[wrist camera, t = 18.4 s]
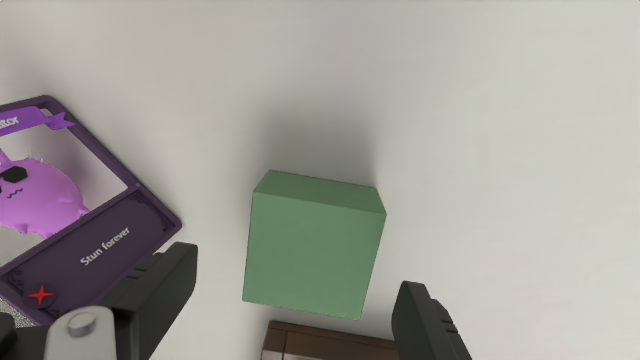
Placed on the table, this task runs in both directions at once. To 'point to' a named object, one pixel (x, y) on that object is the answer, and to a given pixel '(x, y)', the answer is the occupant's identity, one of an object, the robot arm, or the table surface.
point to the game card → (70, 224)
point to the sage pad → (312, 244)
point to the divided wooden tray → (322, 345)
